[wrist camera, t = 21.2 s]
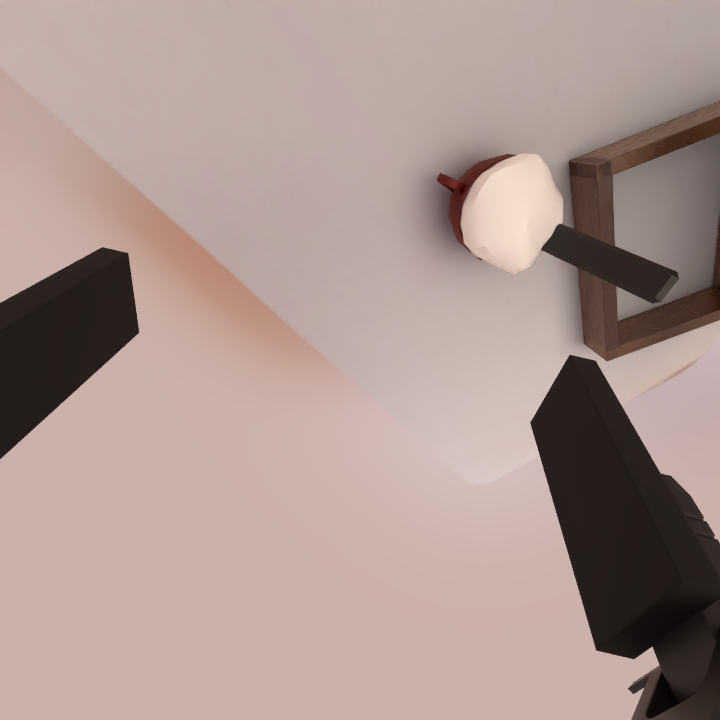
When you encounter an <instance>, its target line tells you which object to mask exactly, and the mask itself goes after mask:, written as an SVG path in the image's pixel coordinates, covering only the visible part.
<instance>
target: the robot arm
mask: <svg viewBox="0 0 720 720" xmlns="http://www.w3.org/2000/svg"><path fill="white" fill-rule="evenodd" d="M129 264H130V263H129V256H128V253H125V252H120V251H116V250H112V249H107V248H100V249H98V250H96V251H95V252H93V253H91V254H89V255H87V256H85V257H84V258H82V259H80V260H78V261H76V262H74V263H73V264H71V265H69V266H67V267H65V268H63V269H62V270H60V271H58V272H56V273H54V274H53V275H51V276H49V277H47V278H45V279H43V280H41V281H40V282H38V283H36V284H34V285H32V286H31V287H29V288H27V289H25V290H23V291H21V292H20V293H18V294H16V295H14V296H12V297H10V298H9V299H7V300H5V301H3V302H1V303H0V459H1V458H2V457H3V456H4V455H5V454H6V453H7V452H8V451H10V450H11V449H12V448H13V447H14V446H15V445H16V444H17V443H18V442H20V441H21V440H22V439H23V438H24V437H25V436H26V435H27V434H28V433H29V432H31V431H32V430H33V429H34V428H35V427H36V426H37V425H38V424H39V423H40V422H42V421H43V420H44V419H45V418H46V417H47V416H48V415H49V414H50V413H51V412H53V411H54V410H55V409H56V408H57V407H58V406H59V405H60V404H61V403H62V402H64V401H65V400H66V399H67V398H68V397H69V396H70V395H71V394H72V393H73V392H74V391H76V390H77V389H78V388H79V387H80V386H81V385H82V384H83V383H84V382H85V381H87V380H88V379H89V378H90V377H91V376H92V375H93V374H94V373H95V372H96V371H98V369H100V368H101V367H102V366H103V365H104V364H105V363H106V362H107V361H109V360H110V359H111V358H112V357H113V356H114V355H115V354H116V353H117V352H118V351H120V350H121V349H122V348H123V347H124V346H125V345H126V344H127V343H128V342H129V341H130V340H132V339H133V338H134V337H135V336H136V335H137V334H138V333H139V328H138V321H137V313H136V306H135V299H134V292H133V285H132V278H131V272H130V271H131V270H130V265H129ZM531 427H532V430H533V434H534V437H535V440H536V444H537V447H538V451H539V454H540V458H541V461H542V465H543V468H544V472H545V475H546V478H547V482H548V485H549V489H550V492H551V496H552V499H553V503H554V506H555V509H556V513H557V516H558V520H559V523H560V527H561V530H562V534H563V537H564V541H565V544H566V547H567V551H568V554H569V558H570V561H571V564H572V568H573V572H574V575H575V578H576V582H577V585H578V589H579V592H580V595H581V599H582V603H583V606H584V609H585V613H586V616H587V620H588V623H589V627H590V630H591V634H592V637H593V640H594V644H595V647H596V650H597V651H601V652H605V653H610V654H614V655H618V656H622V657H627V658H631V659H635V658H636V657H638V656H639V655H641V654H642V653H643V652H645V651H646V650H648V649H649V648H651V647H652V646H653V649H654V652H655V654H656V657H657V659H658V662H659V664H660V666H658V667H657V668H655V669H654V670H652V671H650V672H649V673H647V674H646V675H644V676H643V677H641V678H640V679H638V680H637V681H635V682H634V683H633V684H632V685H631V686H630V687H629V688H628V689H629V690H630V691H631V692H632V693H633V694H634V693H636V692H638V691H639V690H641V689H642V688H644V690H643V693H642V695H641V698H640V700H639V702H638V705H637V707H636V710H635V712H634V715H633V717H632V720H720V543H719V541H718V540H717V539H714V536H715V535H714V533H713V531H712V530H711V528H710V527H709V525H708V523H707V522H706V521H703V518H704V517H703V515H702V514H701V512H700V510H699V509H698V507H697V505H696V504H695V502H694V501H693V499H692V497H691V496H690V495H689V494H688V493H687V492H686V491H685V490H684V489H683V488H682V487H681V486H680V485H679V484H678V483H677V482H676V481H675V480H674V479H673V478H672V477H671V476H669V475H664V474H661V473H660V472H659V470H658V468H657V467H656V465H655V463H654V461H653V460H652V458H651V456H650V454H649V453H648V451H647V449H646V448H645V446H644V444H643V442H642V441H641V439H640V437H639V435H638V434H637V432H636V430H635V428H634V427H633V425H632V423H631V422H630V420H629V418H628V416H627V414H626V413H625V411H624V409H623V407H622V406H621V404H620V402H619V401H618V399H617V397H616V395H615V394H614V392H613V390H612V388H611V387H610V385H609V383H608V381H607V380H606V378H605V376H604V374H603V373H602V371H601V369H600V368H599V366H598V364H597V362H596V361H594V360H590V359H586V358H581V357H577V356H573V355H569V357H568V359H567V361H566V362H565V364H564V366H563V367H562V369H561V371H560V373H559V374H558V376H557V378H556V379H555V381H554V383H553V385H552V386H551V388H550V390H549V392H548V393H547V395H546V397H545V398H544V400H543V402H542V404H541V405H540V407H539V409H538V411H537V412H536V414H535V416H534V417H533V419H532V421H531Z"/></svg>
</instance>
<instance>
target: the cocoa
mask: <svg viewBox="0 0 720 720" xmlns="http://www.w3.org/2000/svg"><path fill="white" fill-rule="evenodd" d="M437 182H439V183H440V184H442V185H443V186H445V187H446V188H448V189H449V190H450V191H451V192H452V194H451V196H450V207H449V218H450V221H451V224H452V227H453V230H454V232H455V235H456V238H457V239H458V241H459V242H460V243H461V244H462V245H463V246H464V247H465V248H467V249H468V250H469V251H470V252H471V253H472V254H473V255H475V256H476V257H477V258H479V259H480V260H485V261H487V262H489V263H491V264H492V265H494V266H496V267H498V268H500V269H502V270H504V271H507V272H510V273H513V274H515V273H517V272H520V271H522V270H525V269H527V268H529V267H530V266H531V265H532V263H533V262H534V261H535V259H536V258H537V257H538V255H539V254H540V253H541V252H542V251H545V252H547V253H549V254H551V255H553V256H555V257H557V258H559V259H561V260H563V261H566V262H568V263H570V264H572V265H574V266H576V267H578V268H580V269H582V270H584V271H586V272H588V273H590V274H592V275H595V276H597V277H599V278H601V279H603V280H605V281H607V282H609V283H611V284H613V285H615V286H617V287H619V288H622V289H624V290H626V291H628V292H630V293H632V294H634V295H636V296H638V297H640V298H642V299H644V300H646V301H648V302H651V303H656V302H660V301H662V299H663V298H664V297H665V296H666V294H667V293H668V292H669V291H670V289H671V288H672V287H673V286H674V284H675V283H676V282H677V280H678V279H679V278H678V273H677V272H676V271H674V270H671V269H669V268H666V267H664V266H661V265H659V264H657V263H654V262H652V261H649V260H647V259H644V258H642V257H640V256H637V255H635V254H632V253H630V252H628V251H625V250H623V249H620V248H618V247H615V246H613V245H611V244H608V243H606V242H603V241H601V240H598V239H596V238H594V237H591V236H589V235H586V234H584V233H581V232H579V231H577V230H574V229H572V228H569V227H567V226H564V225H562V223H563V203H564V200H563V198H562V196H561V194H560V193H559V191H558V189H557V188H556V186H555V184H554V181H553V178H552V176H551V173H550V170H549V168H548V166H547V165H546V164H545V163H544V161H543V160H542V159H541V157H540V156H539V155H535V154H526V153H521V154H518V155H511V154H506V155H503V156H499V157H496V158H492V159H489V160H485V161H482V162H479V163H477V164H475V165H474V166H473V167H472V168H471V169H470V170H468V171H467V172H466V173H465V174H464V175H463V176H462V177H460V179H459V181H457V180H455V179H453V178H451V177H449V176H446V175H444V174H441V173H440V174H439V176H438V178H437Z"/></svg>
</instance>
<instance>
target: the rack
mask: <svg viewBox="0 0 720 720" xmlns="http://www.w3.org/2000/svg"><path fill="white" fill-rule="evenodd" d="M718 133H720V102H717V103H715V104H712V105H709V106H707V107H704V108H702V109H699V110H697V111H694V112H692V113H689V114H687V115H684V116H682V117H679V118H677V119H674V120H672V121H669V122H667V123H664V124H662V125H659V126H656V127H654V128H651V129H649V130H646V131H644V132H641V133H639V134H636V135H634V136H631V137H629V138H626V139H624V140H621V141H619V142H616V143H614V144H611V145H608V146H606V147H603V148H601V149H598V150H596V151H593V152H591V153H588V154H586V155H583V156H581V157H578V158H576V159H573V160H571V161H569V164H570V176H571V187H572V199H573V211H574V223H575V230H577V231H579V232H581V233H584V234H586V235H589V236H591V237H594V238H596V239H598V240H601V241H603V242H606V243H608V244H611V245H613V246H615V240H614V212H613V185H612V175H614V174H616V173H619V172H621V171H624V170H626V169H629V168H632V167H634V166H637V165H639V164H642V163H644V162H647V161H649V160H652V159H655V158H657V157H660V156H662V155H665V154H667V153H670V152H672V151H675V150H677V149H680V148H683V147H685V146H688V145H690V144H693V143H695V142H698V141H700V140H703V139H706V138H708V137H711V136H713V135H716V134H718ZM578 271H579V282H580V294H581V306H582V318H583V330H584V344H585V345H586V346H588V347H589V348H590V349H591V350H593V351H594V352H595V353H597V354H598V355H599V356H601V357H602V358H603V359H605V360H606V361H609V360H612V359H615V358H617V357H620V356H623V355H626V354H628V353H631V352H634V351H636V350H639V349H642V348H645V347H647V346H650V345H653V344H656V343H658V342H661V341H664V340H666V339H669V338H672V337H675V336H677V335H680V334H683V333H685V332H688V331H691V330H694V329H696V328H699V327H702V326H705V325H707V324H710V323H713V322H715V321H718V320H720V219H719V230H718V241H717V252H716V262H715V273H714V284H713V287H711V288H708V289H705V290H703V291H700V292H697V293H695V294H692V295H689V296H687V297H684V298H681V299H678V300H676V301H673V302H670V303H668V304H665V305H662V306H660V307H657V308H654V309H652V310H649V311H646V312H644V313H641V314H638V315H635V316H633V317H630V318H627V319H625V320H622V321H619V322H617V296H616V286H615V285H613V284H611V283H609V282H607V281H605V280H603V279H601V278H599V277H597V276H595V275H592V274H590V273H588V272H586V271H584V270H582V269H580V268H578Z"/></svg>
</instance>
